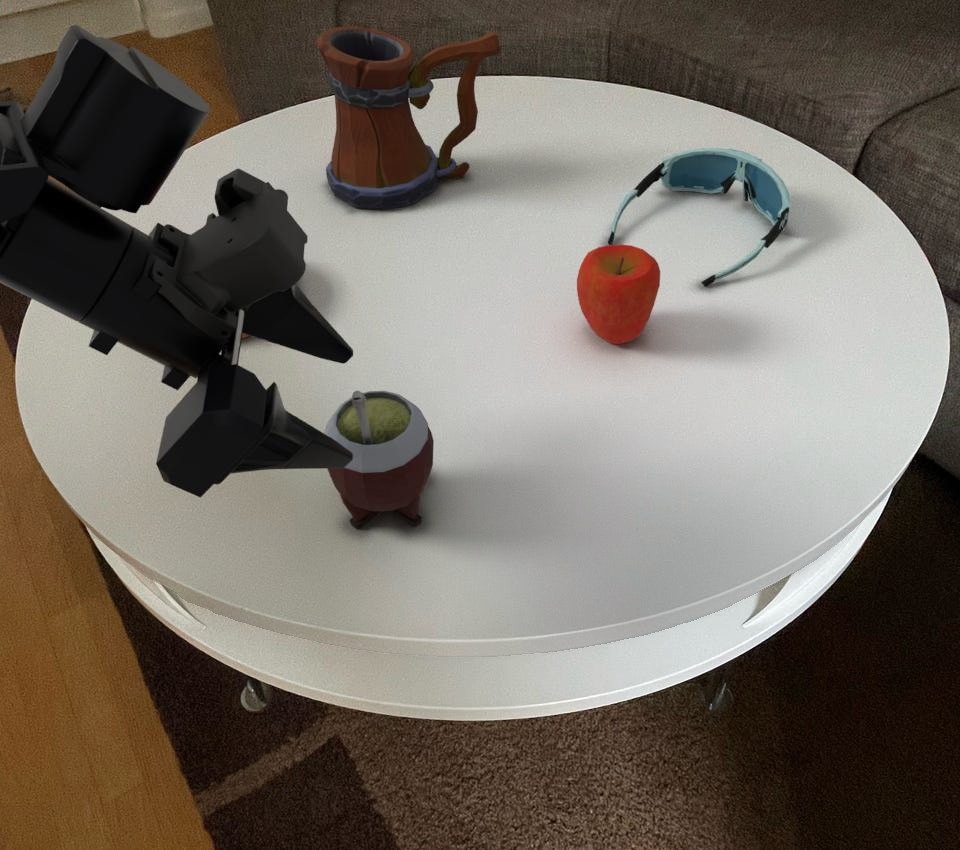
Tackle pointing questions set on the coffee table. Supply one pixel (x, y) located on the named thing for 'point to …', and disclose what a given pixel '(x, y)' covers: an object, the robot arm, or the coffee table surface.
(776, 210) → the sunglasses
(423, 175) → the mug
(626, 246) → the apple
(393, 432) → the mate gourd
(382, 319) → the coffee table surface
